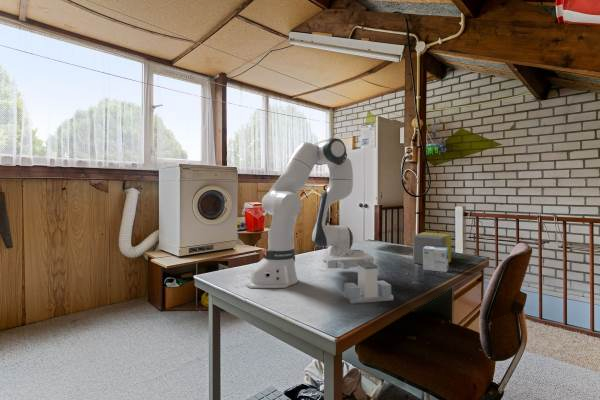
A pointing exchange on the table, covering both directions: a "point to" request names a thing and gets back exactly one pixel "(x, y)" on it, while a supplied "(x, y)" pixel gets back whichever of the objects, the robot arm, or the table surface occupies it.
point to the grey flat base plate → (368, 298)
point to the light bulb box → (435, 258)
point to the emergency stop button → (429, 244)
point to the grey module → (367, 278)
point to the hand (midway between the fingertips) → (356, 265)
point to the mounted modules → (354, 290)
